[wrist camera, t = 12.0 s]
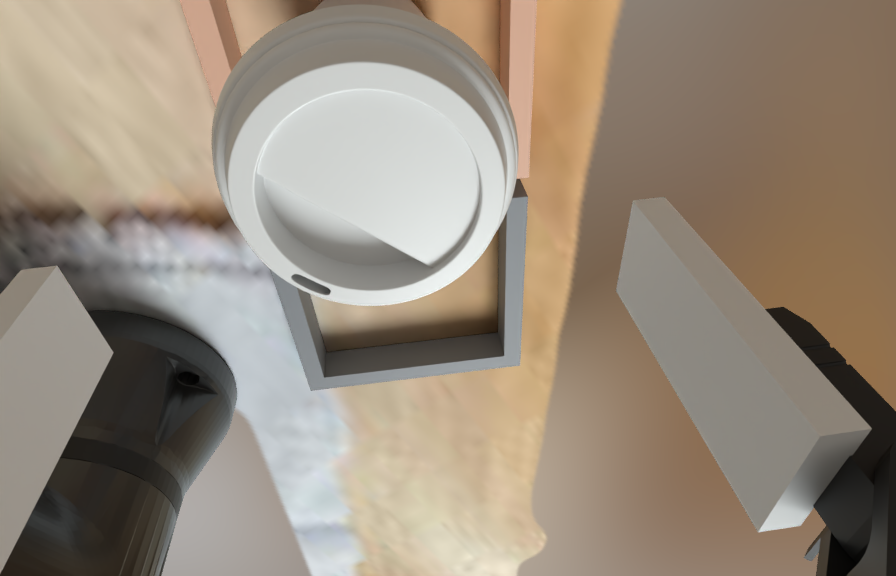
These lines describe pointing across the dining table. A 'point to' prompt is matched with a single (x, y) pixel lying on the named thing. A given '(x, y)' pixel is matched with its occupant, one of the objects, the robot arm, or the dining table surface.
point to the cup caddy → (504, 347)
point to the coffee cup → (365, 152)
